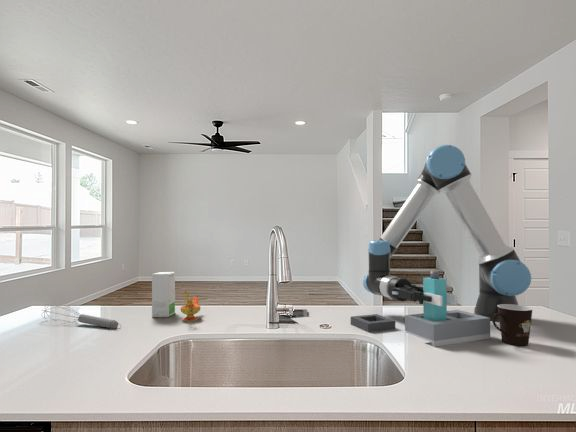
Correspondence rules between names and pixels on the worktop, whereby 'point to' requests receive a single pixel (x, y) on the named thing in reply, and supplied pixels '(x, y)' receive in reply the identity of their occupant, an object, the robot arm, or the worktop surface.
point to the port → (449, 328)
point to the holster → (372, 323)
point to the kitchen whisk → (89, 319)
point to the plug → (438, 288)
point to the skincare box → (163, 294)
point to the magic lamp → (190, 307)
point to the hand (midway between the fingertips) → (448, 300)
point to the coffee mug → (514, 324)
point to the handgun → (296, 314)
